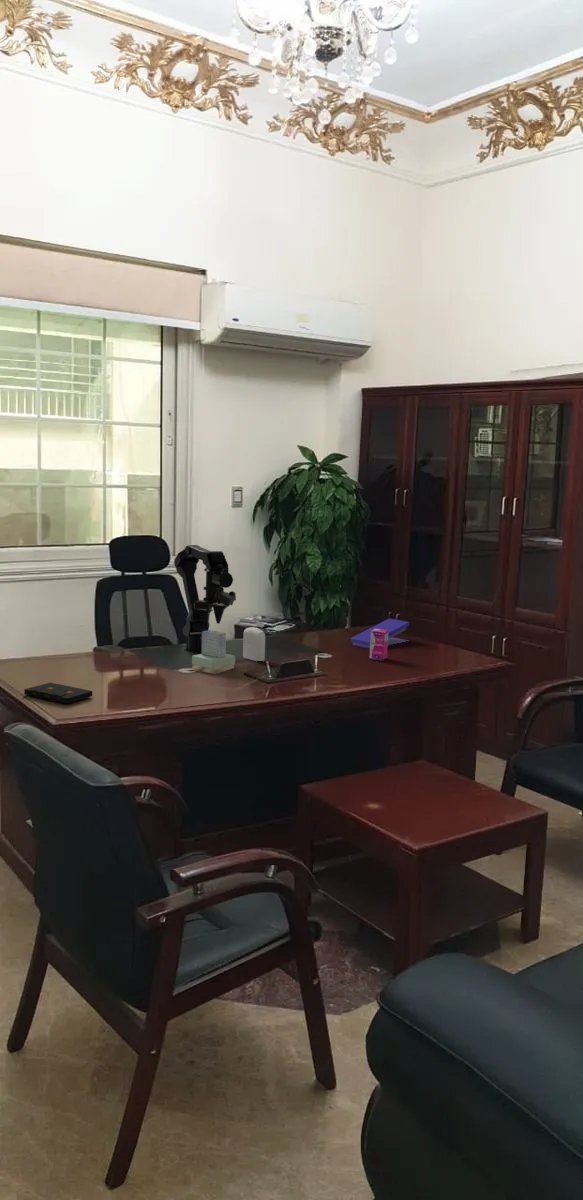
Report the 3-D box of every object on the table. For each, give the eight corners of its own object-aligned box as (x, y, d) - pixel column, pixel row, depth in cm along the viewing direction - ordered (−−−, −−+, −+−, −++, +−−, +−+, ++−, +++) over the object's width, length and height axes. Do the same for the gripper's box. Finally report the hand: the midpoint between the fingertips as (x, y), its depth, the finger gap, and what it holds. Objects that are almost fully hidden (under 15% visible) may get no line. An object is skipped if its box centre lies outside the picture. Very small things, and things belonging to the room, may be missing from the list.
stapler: (410, 643, 398) (411, 621, 397) (371, 651, 377) (372, 628, 376) (388, 639, 406) (390, 617, 404) (349, 647, 385) (350, 624, 384)
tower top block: (191, 663, 330) (192, 655, 330) (215, 659, 339) (215, 651, 339) (211, 668, 324) (211, 660, 323) (235, 663, 333) (235, 655, 332)
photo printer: (241, 657, 353) (242, 626, 352) (250, 656, 356) (251, 625, 354) (257, 662, 346) (258, 630, 344) (266, 661, 348) (267, 629, 346)
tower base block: (192, 672, 329) (192, 664, 329) (210, 667, 340) (211, 659, 339) (215, 676, 325) (215, 668, 324) (233, 670, 335) (233, 662, 335)
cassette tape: (23, 695, 287) (23, 688, 287) (50, 688, 297) (50, 681, 297) (67, 704, 278) (67, 697, 278) (92, 696, 288) (92, 690, 288)
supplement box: (369, 659, 360) (370, 630, 358) (373, 656, 365) (374, 628, 364) (383, 661, 358) (384, 632, 356) (387, 658, 363) (389, 629, 362)
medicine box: (225, 656, 331) (226, 632, 330) (218, 658, 328) (218, 634, 326) (208, 653, 335) (209, 629, 334) (201, 655, 332) (201, 631, 331)
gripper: (220, 588, 333) (219, 631, 336) (243, 583, 350) (242, 624, 353) (193, 586, 338) (192, 627, 340) (218, 581, 355) (217, 621, 357)
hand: (212, 625), depth 347 cm, fingers open, 9 cm apart
